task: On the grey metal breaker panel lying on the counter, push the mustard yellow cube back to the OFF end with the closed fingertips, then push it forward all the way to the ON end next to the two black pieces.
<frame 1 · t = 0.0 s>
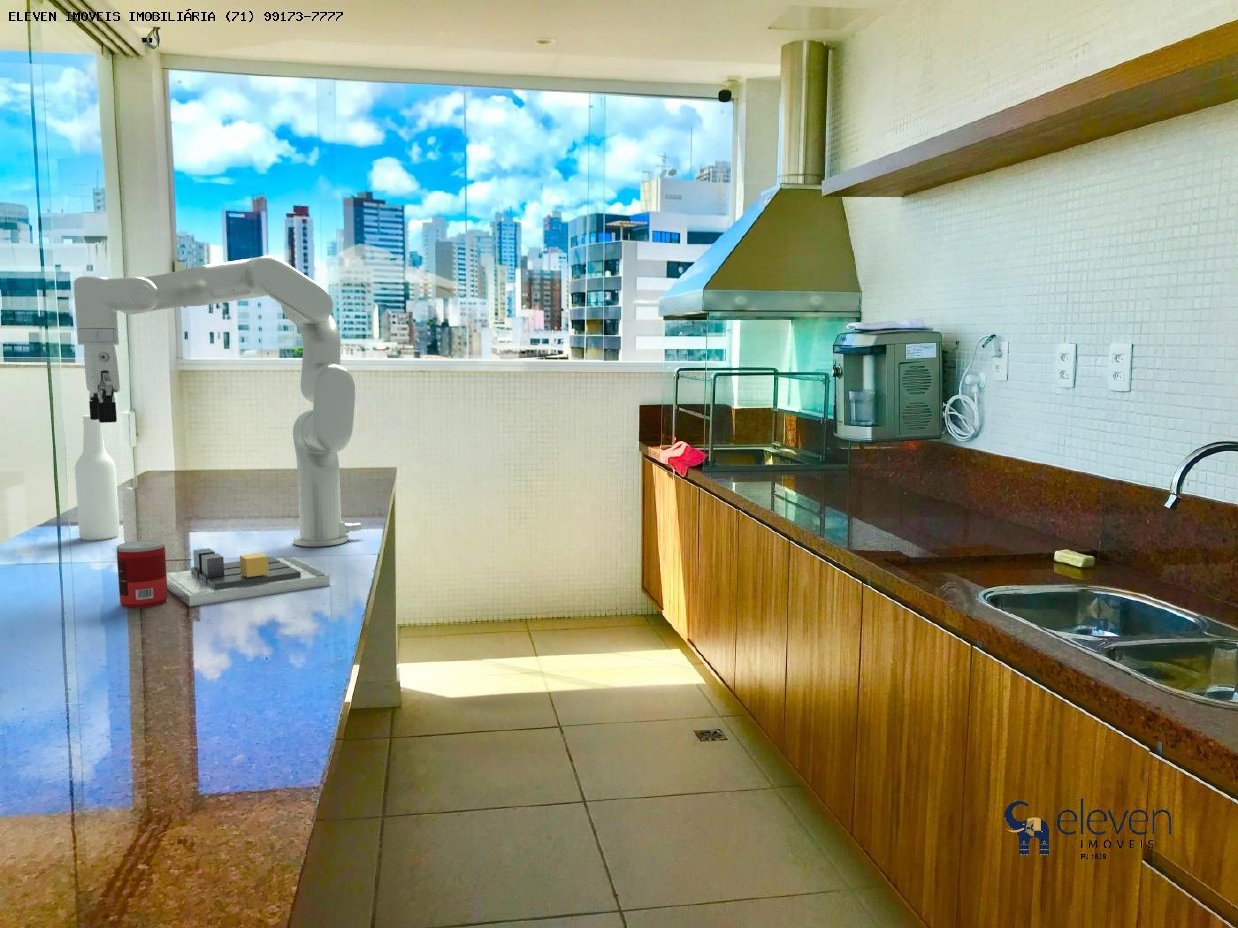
hand: (103, 420, 204), 31 cm above the counter, tool pointing down, fingers open, 9 cm apart
panel: (245, 584, 193), on the counter
canned food: (144, 604, 180), on the counter
mustard yellow cube: (254, 564, 188), point 5 cm above the counter, slide at 0.0 cm
alcohol: (100, 538, 241), on the counter
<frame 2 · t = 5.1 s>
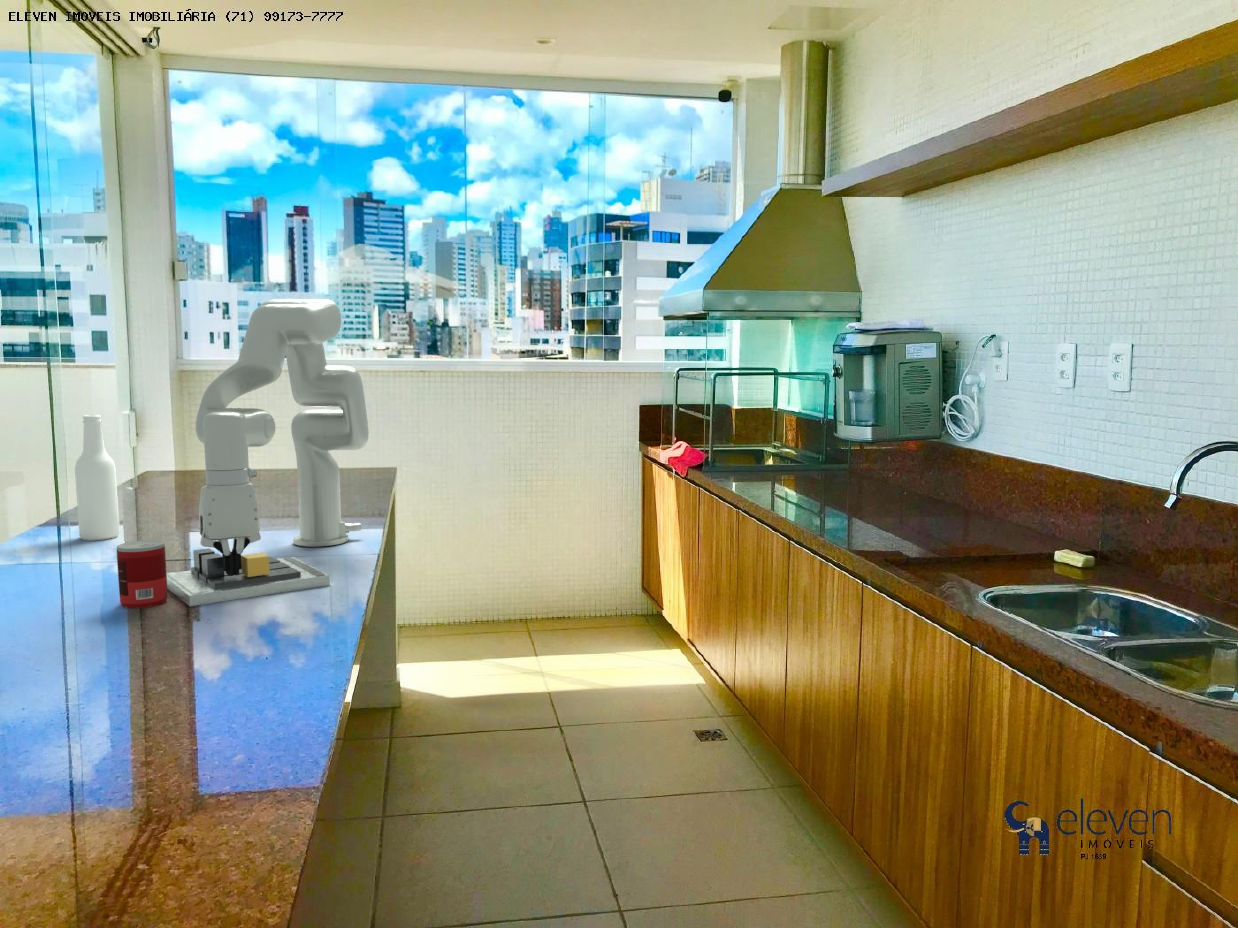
hand: (232, 574, 186), 4 cm above the counter, tool pointing down, fingers closed
mustard yellow cube: (255, 564, 188), point 5 cm above the counter, slide at -0.2 cm, touching gripper
everything else where it was.
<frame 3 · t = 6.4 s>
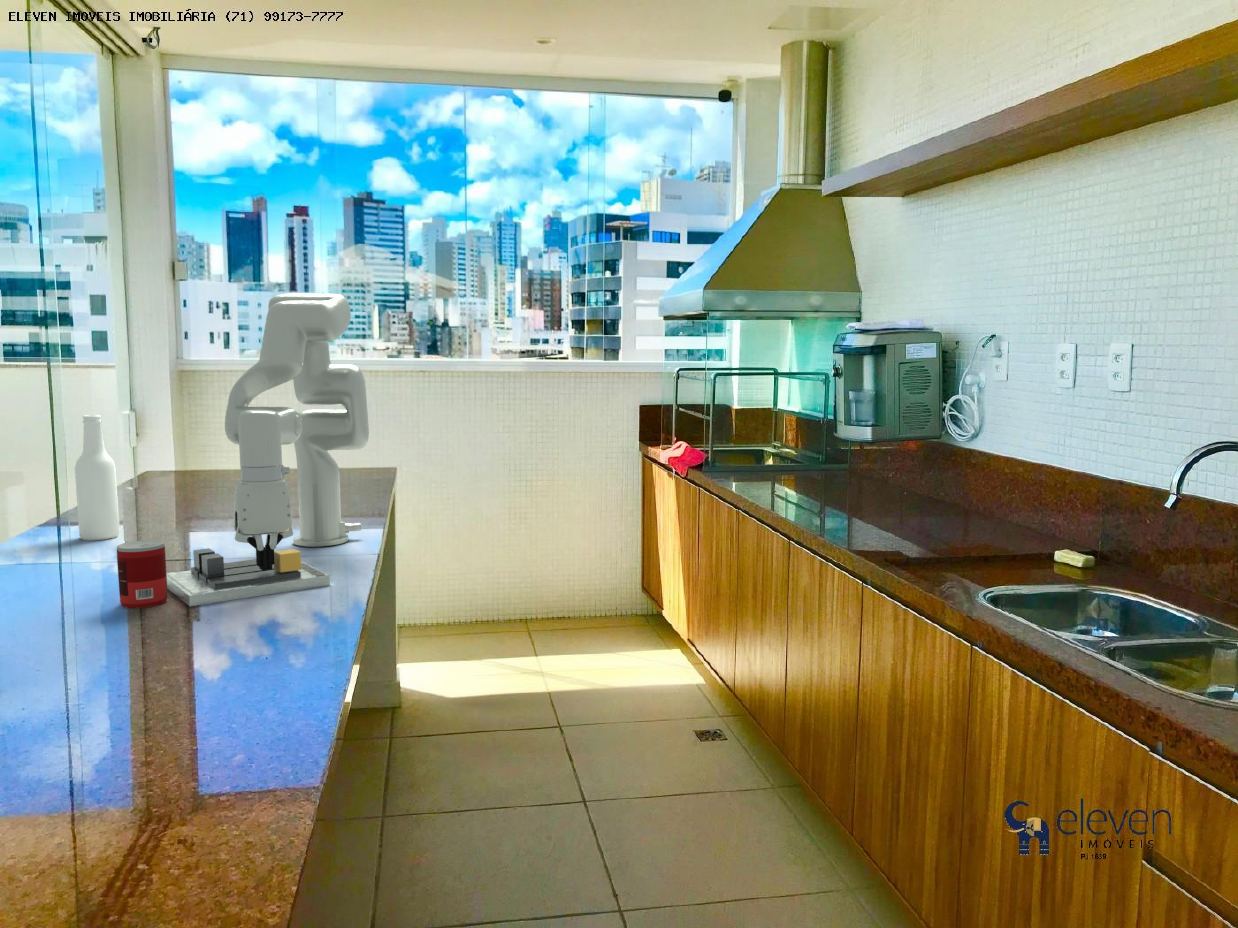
hand: (265, 569, 190), 4 cm above the counter, tool pointing down, fingers closed
mustard yellow cube: (287, 560, 192), point 5 cm above the counter, slide at -6.3 cm, touching gripper
everything else where it was.
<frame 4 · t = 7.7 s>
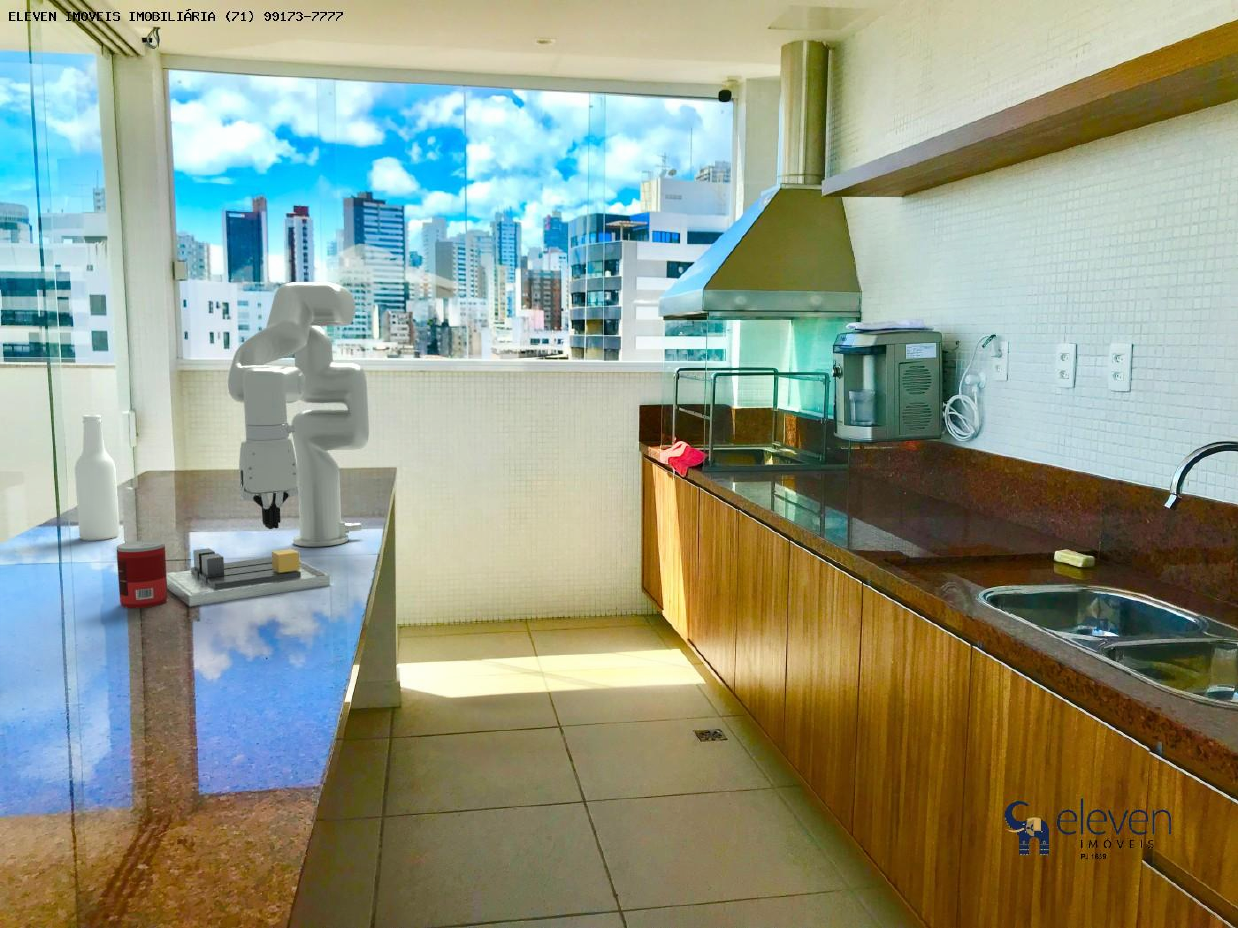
hand: (271, 527, 190), 12 cm above the counter, tool pointing down, fingers closed
mustard yellow cube: (285, 560, 192), point 5 cm above the counter, slide at -6.0 cm
everything else where it was.
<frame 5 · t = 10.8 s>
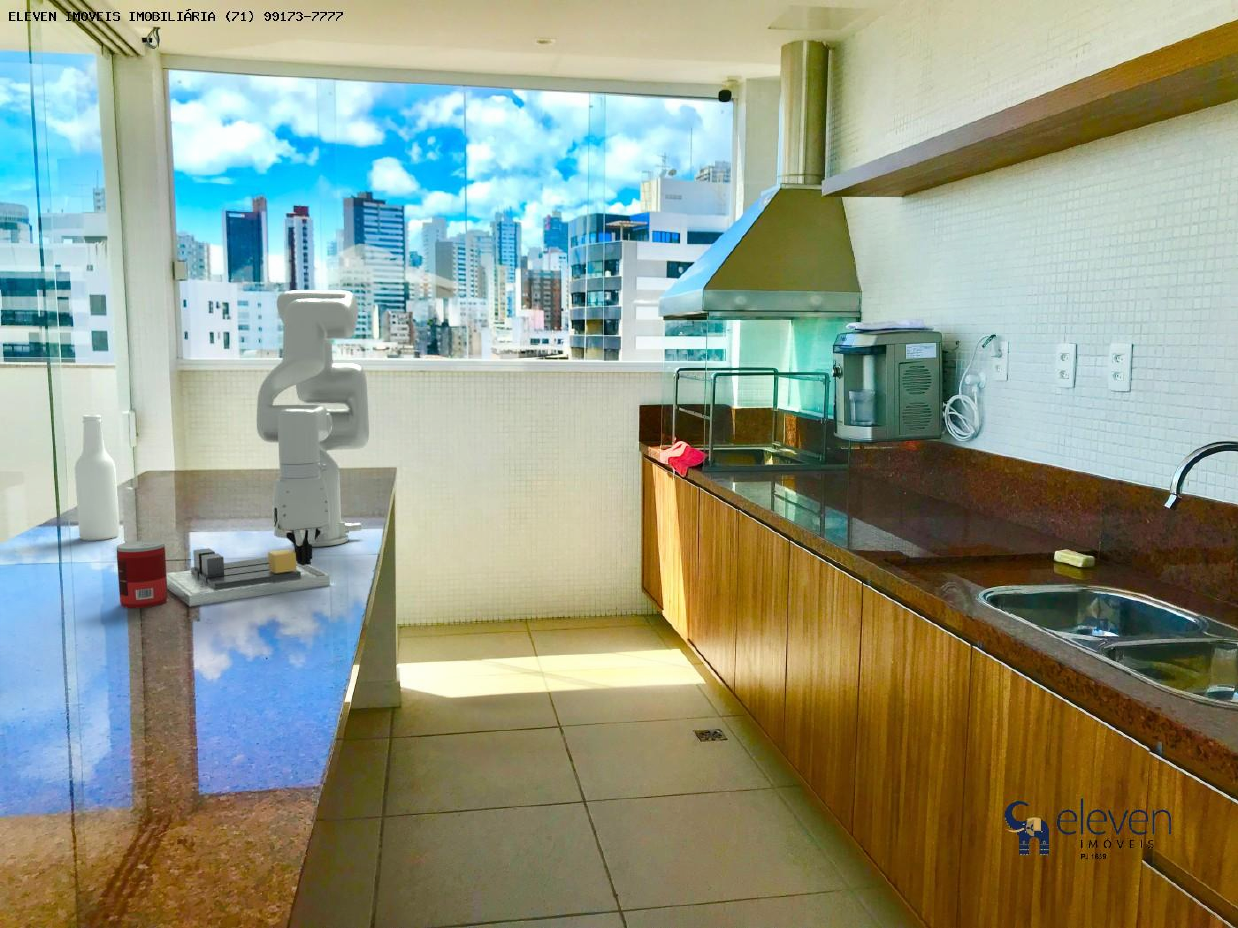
hand: (303, 563, 194), 4 cm above the counter, tool pointing down, fingers closed
mustard yellow cube: (282, 561, 191), point 5 cm above the counter, slide at -5.3 cm, touching gripper
everything else where it was.
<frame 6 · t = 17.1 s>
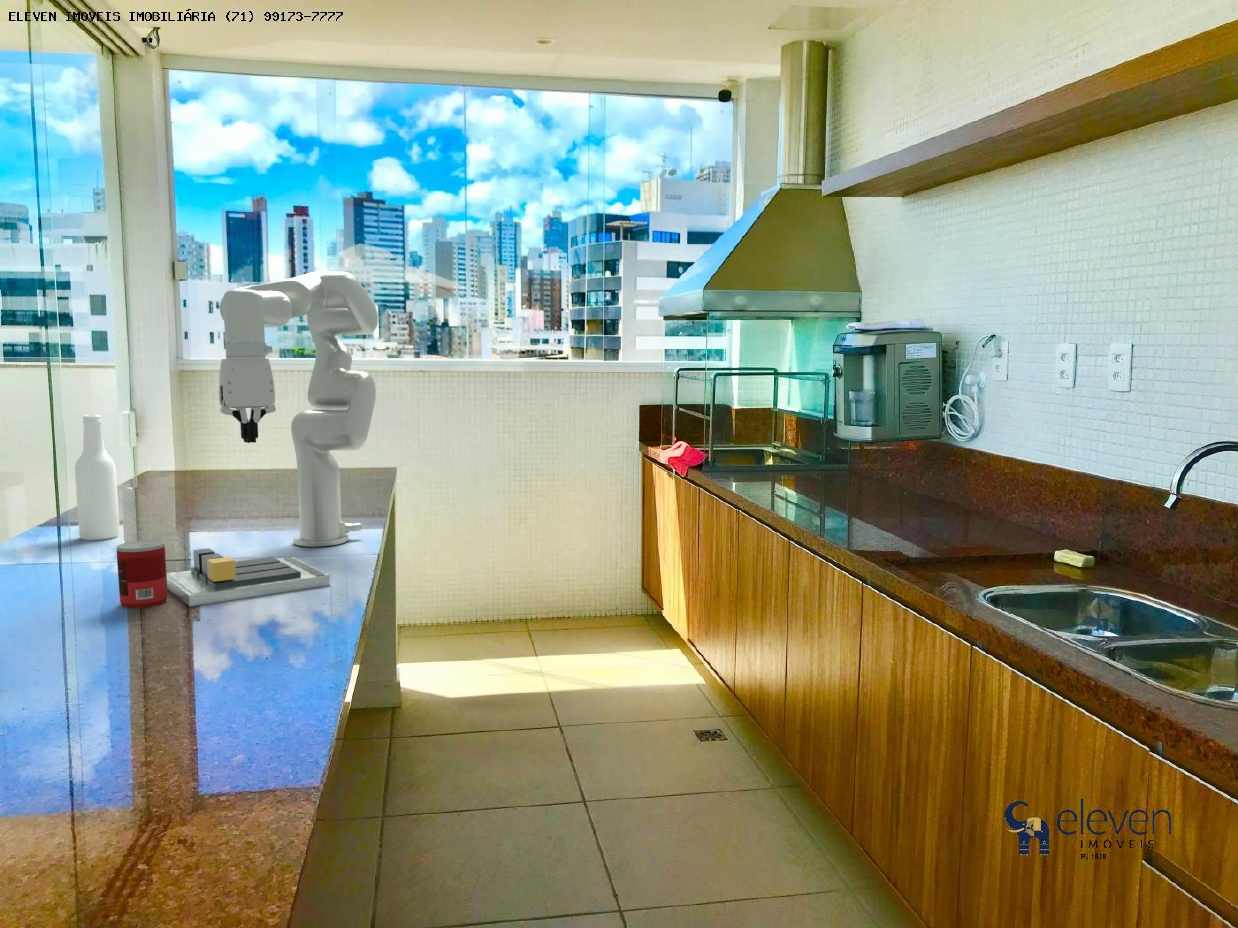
hand: (249, 442, 201), 27 cm above the counter, tool pointing down, fingers closed
mustard yellow cube: (221, 569, 184), point 5 cm above the counter, slide at 6.0 cm
everything else where it was.
at the end: mustard yellow cube slide at 6.0 cm; the gripper is holding nothing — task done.
